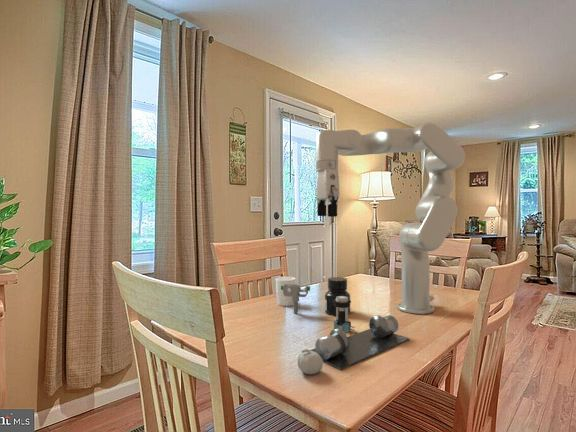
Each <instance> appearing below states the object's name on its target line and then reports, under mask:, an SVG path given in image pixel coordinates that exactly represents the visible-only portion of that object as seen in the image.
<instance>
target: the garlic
mask: <svg viewBox="0 0 576 432" xmlns="http://www.w3.org/2000/svg"><path fill="white" fill-rule="evenodd" d="M323 366H324V362H323V360H322V358H321V357H320V355H319V354H317V353H316V352H314V351H309V349H308V348H306V349H302V350H301V352H299V354H298V357H297V367H298V369H299V370H300V371H301V372H302V373H303V374H306V375H314V374H317V373H319V372H321V371H322V370H323Z"/></svg>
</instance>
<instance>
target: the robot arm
mask: <svg viewBox="0 0 576 432" xmlns="http://www.w3.org/2000/svg"><path fill="white" fill-rule="evenodd" d="M315 137H316V140H315V141H316V143H315V144H316V146H315V149H316V151H315V152H316V154H315V155H316V156H315V157H316V161H315V162H316V163H315V167H316V168H315V169H316V170H315V172H316V173H317V176H316V177H317V181H316V197H317V198H316V201H317V202H316V204H317V210H316V211H317V214H316V215H317V217H326V216H327V217H329V218H330V217H332V218H333V217H335V218H336V217H338V203H339V201H338V200H339V198H340V178H339V156H343V157H347V156H348V157H350V156H352V157H353V156H354V157H355V156H366V155H381V154H392V153H396V154H397V153H416V152H422V151H425V150H429V152H428V153H427V154H426V156H424V167H425V170H426V171H427V175H428V183H427V185H426V189H425V190H424V192H423V194H422V196H421V197H420V200H419V201H418V203H417V205H416V207H415V216H416V217H417V219H418V220H420V221H421V222H409V223H406V224H404V225H403V226H402V227H401V228H400V230H399V235H398V240H399V247H400V255H401V302H399V303H397V305H396V306H397V307H396V308H397V309H398V310H399V311H402V312H404V313H408V314H413V315H414V314H415V315H417V314H418V315H427V314H432V313H434V311H435V307H434V306H433V304H431V301H434V300H435V296H434V295H432V294H431V295H430V255H429V252H433V251H436V250H438V249H439V248H440V247H441V246H442V245H443V243H444V241H445V239H446V238H447V236H448V234H449V232H450V230H451V228H452V226H453V224H454V222H456V221H455V220H456V218H457V214H458V206H457V203H456V202H455V200H454V199H453V198H452V197H450V196H451V194H452V192H453V188H454V179H453V175H452V174H451V171H453V170H457V169H459V168H461V167H462V166H463V165H464V163H465V161H466V153H465V150H464V148H463V147H462V146H461V144H459V143H458V142H457V141H456V140H454V138H453V137H451V135H450V134H448V133H447V132H446V131H445V130H444V129H442V128H441V127H439V125H437V124H435V123H431V122H425V123H424V124H421V125H418V126H416V127H403V128H402V127H401V128H400V127H399V128H396V127H395V128H394V127H393V128H383V129H379V130H377V131H374V132H370V133H366V134H365V133H364V134H361V132H359V131H358V130H355V129H343V130H333V129H323V130H320V131H318V132H317V133H316V136H315ZM327 202H328V204H326V203H327Z"/></svg>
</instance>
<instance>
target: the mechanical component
mask: <svg viewBox="0 0 576 432" xmlns="http://www.w3.org/2000/svg"><path fill="white" fill-rule="evenodd" d="M288 288H290V289H291V291H288V290H287V289H288ZM281 290H283V294H284V296H288V297H292V301H293V304H294V305H293V315H297V314H299V302H300V298H306V297H307V296H308V294H309V292H310V291H311V286H310V285H305V287H304V288H303V289H302V287H301V286H300V284H296V283H295V284H284V285H281ZM304 293H305V294H304Z"/></svg>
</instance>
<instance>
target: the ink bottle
mask: <svg viewBox="0 0 576 432" xmlns="http://www.w3.org/2000/svg"><path fill="white" fill-rule="evenodd" d="M327 289H328V291H326V292H325V294H324V311H325V314H329V315H330V316H331V315H332V316H336V306H334V302H333V300H334V299H336V297H337V296H346V297H348V299H349V300H351V294H350V292H348V291H347V289H348V279H347V278H346V277H343V276H342V277H341V276H340V277H339V276H334V277H332V276H331V277H328V278H327ZM350 313H351V306H350V307H348V315H349V314H350Z"/></svg>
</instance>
